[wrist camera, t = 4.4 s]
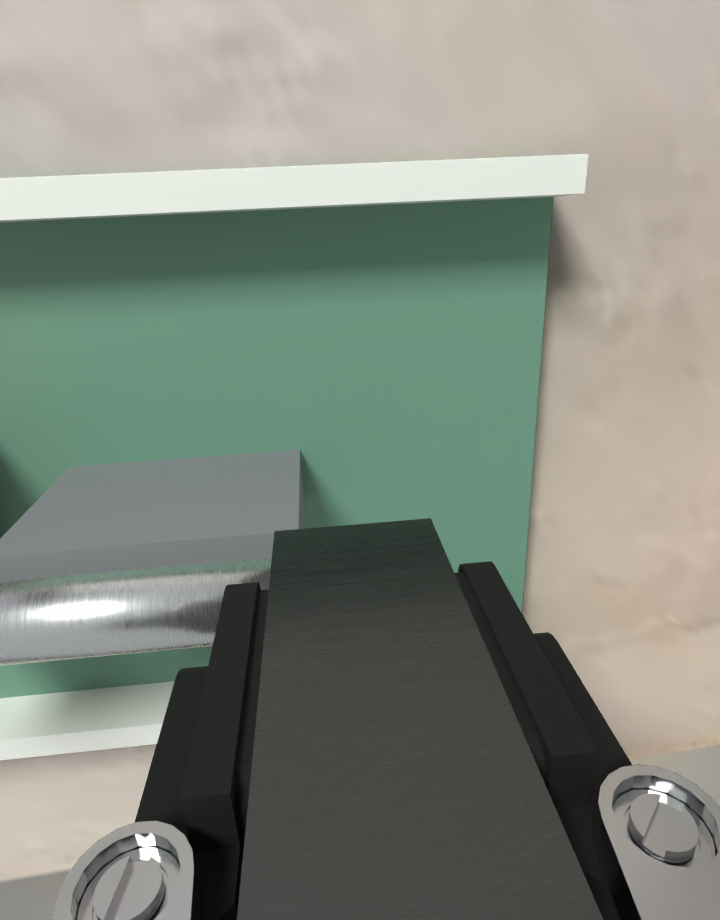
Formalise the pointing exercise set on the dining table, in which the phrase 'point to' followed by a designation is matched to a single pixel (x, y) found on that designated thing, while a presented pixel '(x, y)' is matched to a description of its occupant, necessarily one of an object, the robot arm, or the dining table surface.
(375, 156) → the dining table surface
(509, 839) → the copper block with rod
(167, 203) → the pitch
